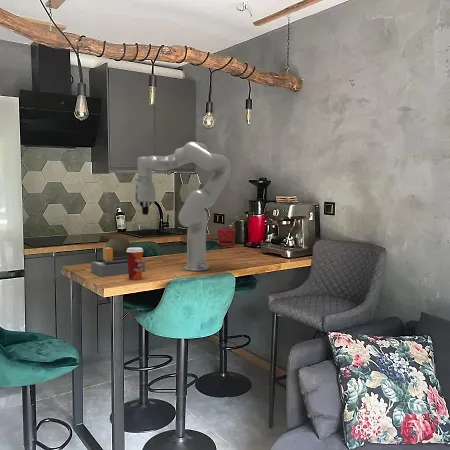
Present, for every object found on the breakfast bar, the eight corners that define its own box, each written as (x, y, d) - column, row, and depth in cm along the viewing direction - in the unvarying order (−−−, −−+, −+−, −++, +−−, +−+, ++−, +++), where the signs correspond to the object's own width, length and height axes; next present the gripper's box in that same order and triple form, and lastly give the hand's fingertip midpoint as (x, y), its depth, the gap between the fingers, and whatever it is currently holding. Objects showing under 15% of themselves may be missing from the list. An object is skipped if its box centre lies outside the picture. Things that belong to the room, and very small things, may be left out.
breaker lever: (112, 264, 221) (112, 248, 220) (106, 265, 219) (106, 248, 219) (109, 263, 225) (108, 247, 224) (103, 264, 223) (102, 247, 223)
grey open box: (144, 271, 226) (144, 258, 226) (101, 276, 214) (101, 263, 213) (132, 267, 238) (132, 255, 237) (91, 272, 225) (90, 259, 224)
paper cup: (139, 280, 205) (138, 249, 203) (123, 279, 207) (123, 249, 205) (146, 277, 212) (146, 247, 211) (131, 276, 214) (131, 246, 213)
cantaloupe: (103, 263, 249) (103, 236, 248) (130, 262, 254) (129, 235, 253) (106, 268, 236) (106, 239, 234) (134, 266, 241) (134, 238, 239)
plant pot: (229, 246, 320) (229, 229, 319) (213, 245, 327) (213, 228, 326) (239, 244, 331) (239, 228, 330) (223, 243, 338) (223, 227, 337)
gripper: (135, 179, 236) (135, 215, 238) (160, 180, 245) (161, 214, 247) (128, 180, 242) (129, 214, 244) (154, 180, 251) (154, 213, 253)
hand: (145, 214), depth 245 cm, fingers closed
